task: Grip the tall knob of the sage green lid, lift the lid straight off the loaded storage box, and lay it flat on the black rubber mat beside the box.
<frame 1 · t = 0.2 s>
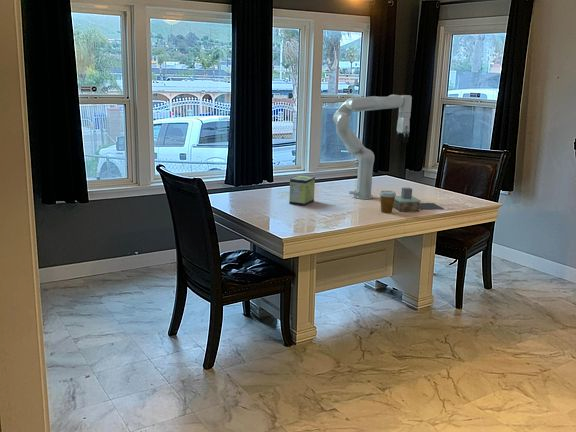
hand: (402, 141, 379), 37 cm above the table, tool pointing down, fingers open, 9 cm apart
rubber mat: (427, 206, 364), on the table
storage box: (405, 209, 355), on the table
disposable coffee cup: (386, 212, 347), on the table
protein box: (301, 202, 364), on the table
lid: (406, 199, 353), point 6 cm above the table, touching storage box
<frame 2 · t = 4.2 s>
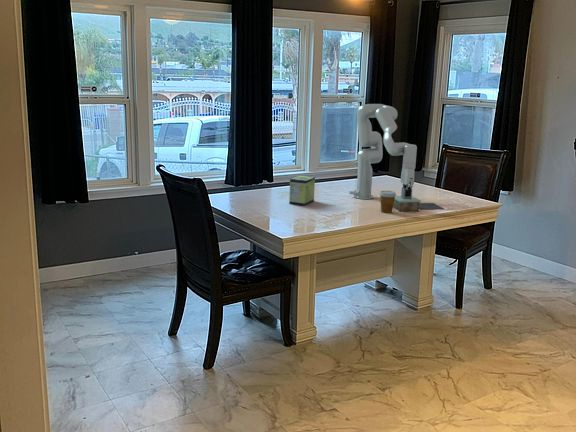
hand: (406, 195, 352), 9 cm above the table, tool pointing down, fingers closed on lid, 4 cm apart
lid: (406, 199, 353), point 6 cm above the table, touching gripper, storage box
everything else where it was.
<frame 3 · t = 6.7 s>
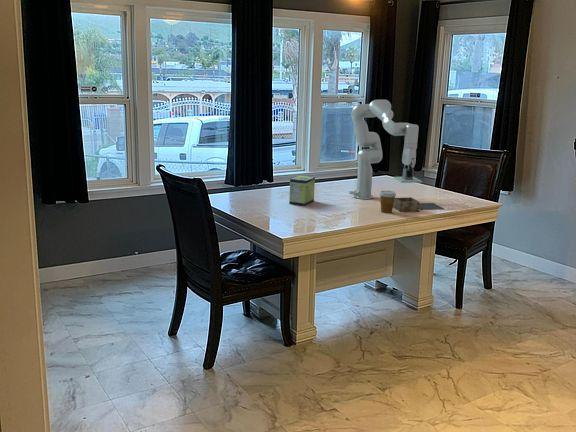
hand: (407, 175, 350), 21 cm above the table, tool pointing down, fingers closed on lid, 4 cm apart
lid: (407, 180, 350), point 18 cm above the table, touching gripper
everything else where it was.
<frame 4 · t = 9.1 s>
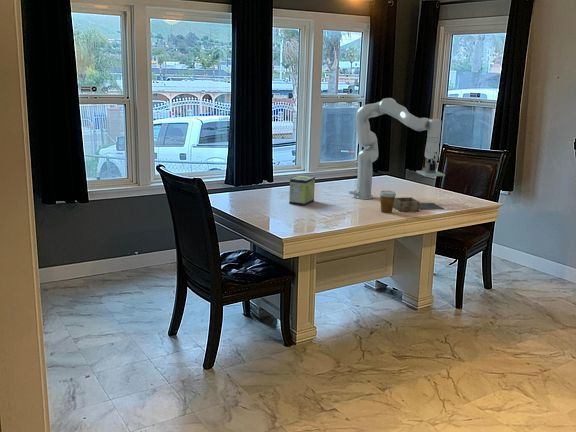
hand: (430, 169, 358), 23 cm above the table, tool pointing down, fingers closed on lid, 4 cm apart
lid: (430, 174, 359), point 20 cm above the table, touching gripper
everything else where it was.
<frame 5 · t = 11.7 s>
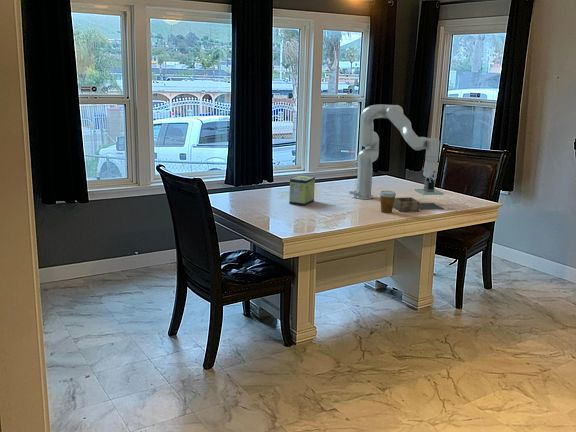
hand: (429, 188, 361), 12 cm above the table, tool pointing down, fingers closed on lid, 4 cm apart
lid: (428, 192, 361), point 9 cm above the table, touching gripper
everything else where it was.
when the fingers open (5 cm above the table, at t = 14.2 s): lid drops 2 cm, resting on rubber mat.
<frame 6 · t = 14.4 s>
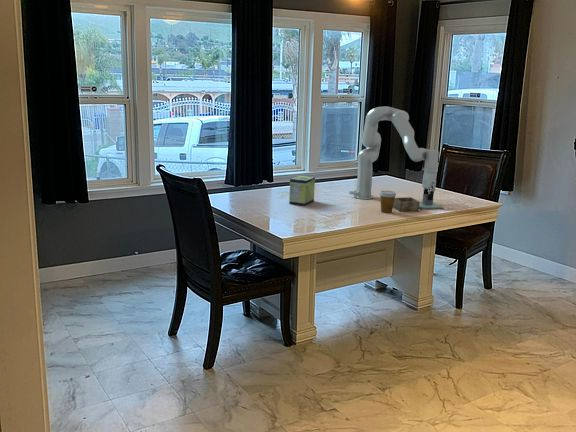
hand: (428, 198, 362), 5 cm above the table, tool pointing down, fingers open, 6 cm apart
lid: (427, 205, 364), resting on rubber mat
everything else where it was.
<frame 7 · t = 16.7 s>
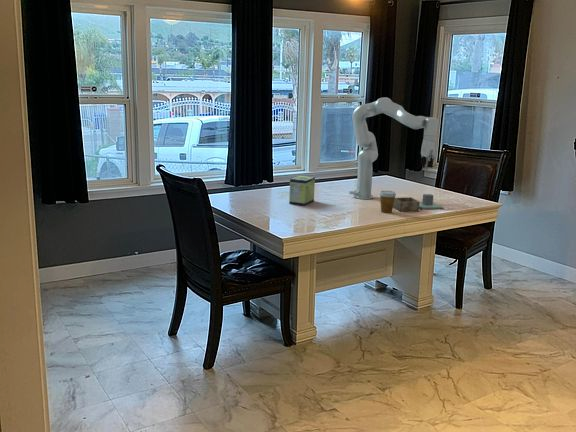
hand: (426, 165, 360), 25 cm above the table, tool pointing down, fingers open, 9 cm apart
nothing on the table moved.
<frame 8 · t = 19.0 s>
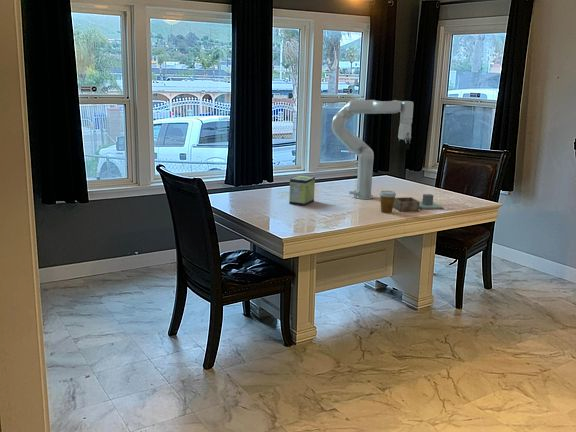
hand: (403, 148, 372), 33 cm above the table, tool pointing down, fingers open, 9 cm apart
nothing on the table moved.
at the end: lid inside the target area on the rubber mat (0.0 cm from its centre), point 0.4 cm above the rubber mat's base; lid tilted 0°; lid touching rubber mat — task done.
